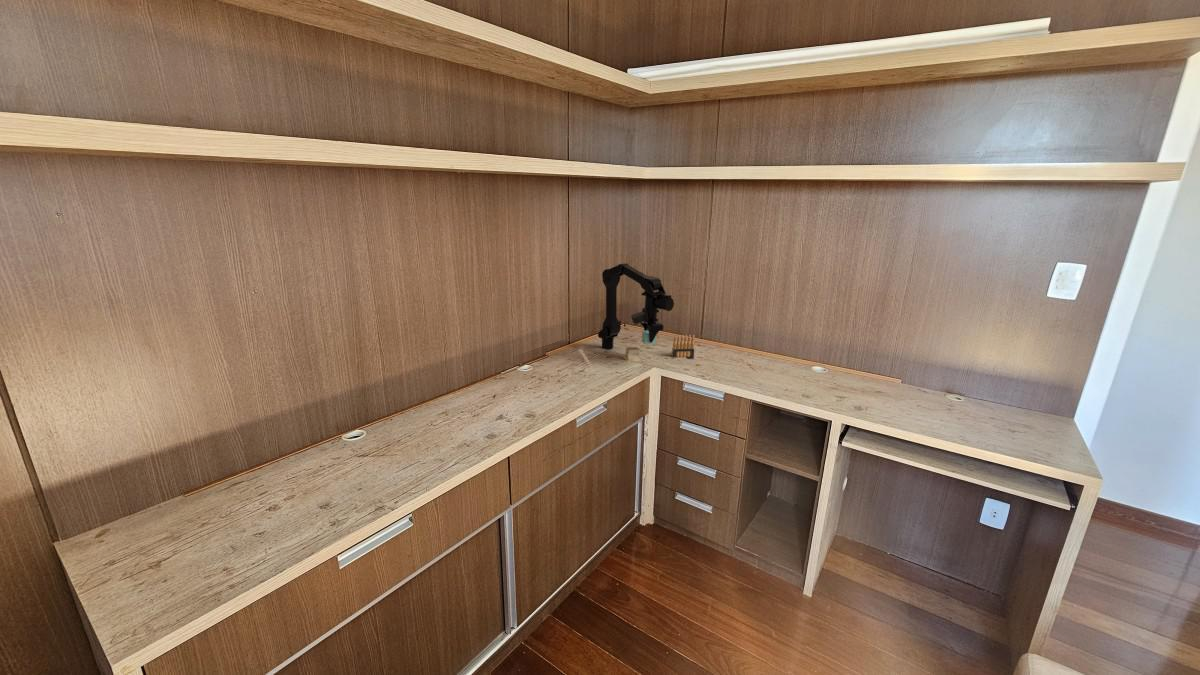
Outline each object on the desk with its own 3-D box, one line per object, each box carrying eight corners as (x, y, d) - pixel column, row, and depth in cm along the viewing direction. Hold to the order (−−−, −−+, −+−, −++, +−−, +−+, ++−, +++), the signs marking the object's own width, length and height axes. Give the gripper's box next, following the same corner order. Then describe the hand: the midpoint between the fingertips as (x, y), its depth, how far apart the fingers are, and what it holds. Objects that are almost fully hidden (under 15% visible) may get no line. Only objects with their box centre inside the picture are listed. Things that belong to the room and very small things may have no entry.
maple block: (625, 357, 231) (625, 346, 230) (635, 356, 232) (636, 346, 231) (628, 360, 227) (629, 350, 225) (638, 360, 228) (639, 349, 226)
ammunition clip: (672, 359, 234) (674, 335, 230) (670, 358, 236) (673, 334, 232) (693, 358, 236) (696, 334, 232) (692, 357, 238) (694, 333, 234)
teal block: (641, 341, 226) (642, 330, 225) (652, 340, 227) (652, 330, 226) (645, 344, 222) (645, 333, 220) (655, 344, 223) (656, 333, 221)
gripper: (627, 302, 226) (625, 335, 231) (640, 312, 209) (638, 347, 214) (650, 301, 229) (648, 334, 234) (665, 311, 212) (662, 346, 216)
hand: (648, 340), depth 224 cm, fingers closed on teal block, 5 cm apart
